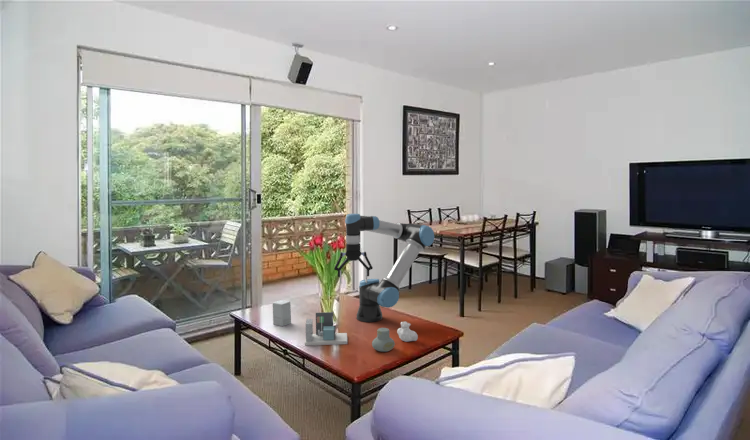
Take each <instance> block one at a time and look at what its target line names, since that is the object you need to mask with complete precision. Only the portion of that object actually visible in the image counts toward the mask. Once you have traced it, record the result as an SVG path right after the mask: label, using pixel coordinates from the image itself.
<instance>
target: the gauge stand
mask: <svg viewBox="0 0 750 440" xmlns="http://www.w3.org/2000/svg"><path fill="white" fill-rule="evenodd" d="M321 316H322V331H323V327H324V326H334V311H326V312H324V311H323V312H315V333H313V338H312V342H306V337H305V339H304V346H306V347H307V346H326V345H328V346H330V345H348V333H347V332H339V333H338V332H337V333H336V332H335V340H323V335H320V336H318V330H320V331H321Z"/></svg>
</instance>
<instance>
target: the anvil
mask: <svg viewBox="0 0 750 440" xmlns="http://www.w3.org/2000/svg"><path fill="white" fill-rule="evenodd" d="M313 322H314V321H313V318H306V320H305V338H306V342H312V338H313V334H314V330H313V329H314V328H313V327H314V325H313V324H314V323H313Z"/></svg>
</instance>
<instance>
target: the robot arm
mask: <svg viewBox="0 0 750 440" xmlns="http://www.w3.org/2000/svg"><path fill="white" fill-rule="evenodd" d="M344 222H345V223H344V224H345V242H346V243H345V246H346V247H345V248H346V249H345V252H343V251H341V252H340V254H339V257H338V260H337V261H336V264H335V265H334V268H333V270H335V271H337V277H338V278H339V283H340V284H342V269H343V268H344V266H345V265H346V264H347V263H348V262H349V261H350V262H356V261H358V262H359V263H360V264H361V265H362V266H363V268H365V272H364V274H365V279H362V280H360V281H359V284H358V289H359V291H358V292H359V293H358V295H359V297H358V298H359V306H358V309H357V312H356V320H357V321H359V322H363V323H365V322H366V323H374V322H379V321H381V320H383V312H382V310H381V307H382V308H387V309H389V308H392V307H394V306H395V305H397V303H398V302H399V300H400V290H401V289H400V284H402V281H403V280H404V278H405V276H406V275H407V273H408V271H409V270H410V268H411V267H412V265H413V263H414V262H415V260H416V258H417V257H418V255H419V253H421V252H424V250H425V249H426V247H430V246H431V245H432V244H433V243H434V242H435V241H434V240H435V232H434V229H433V228H432V227H431V226H429V225H425V224H417V223H403V222H402V223H401V222H395V223H394V222H389V221H385V220H380V219H379V217H378V216H374V215H371V216H369V215H361V214H360V213H348V214H346V215H345V221H344ZM364 231H365V232H366V231H367V232H371V233H376V234H381V235H385V236H390V237H393V239H398V240H400V241H403V242H406V245H405V246H404V248H403V250H402V251H401V253H400V254H399V256H398V258H397V259H396V261H395V263H394V264H393V266H392V267H391V269H390V271H389V272H388V274H387V275H386V277H383V278H382V279H381V280H380V279H379V278H368V277H370V271H371V270H373V266H372V264H371V261H370V260H369V258H368V254H367V252H366V251H363V252H362V250H361V232H364ZM362 256H363V257H364V259H365V260H366V262H367V264H368V265H367V264H366V263H365V262H364V261H363V260H362V258H361V257H362ZM343 257H346V258H345V260H343V262H342V263H341V260H342V259H343ZM340 263H341V264H340Z"/></svg>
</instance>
